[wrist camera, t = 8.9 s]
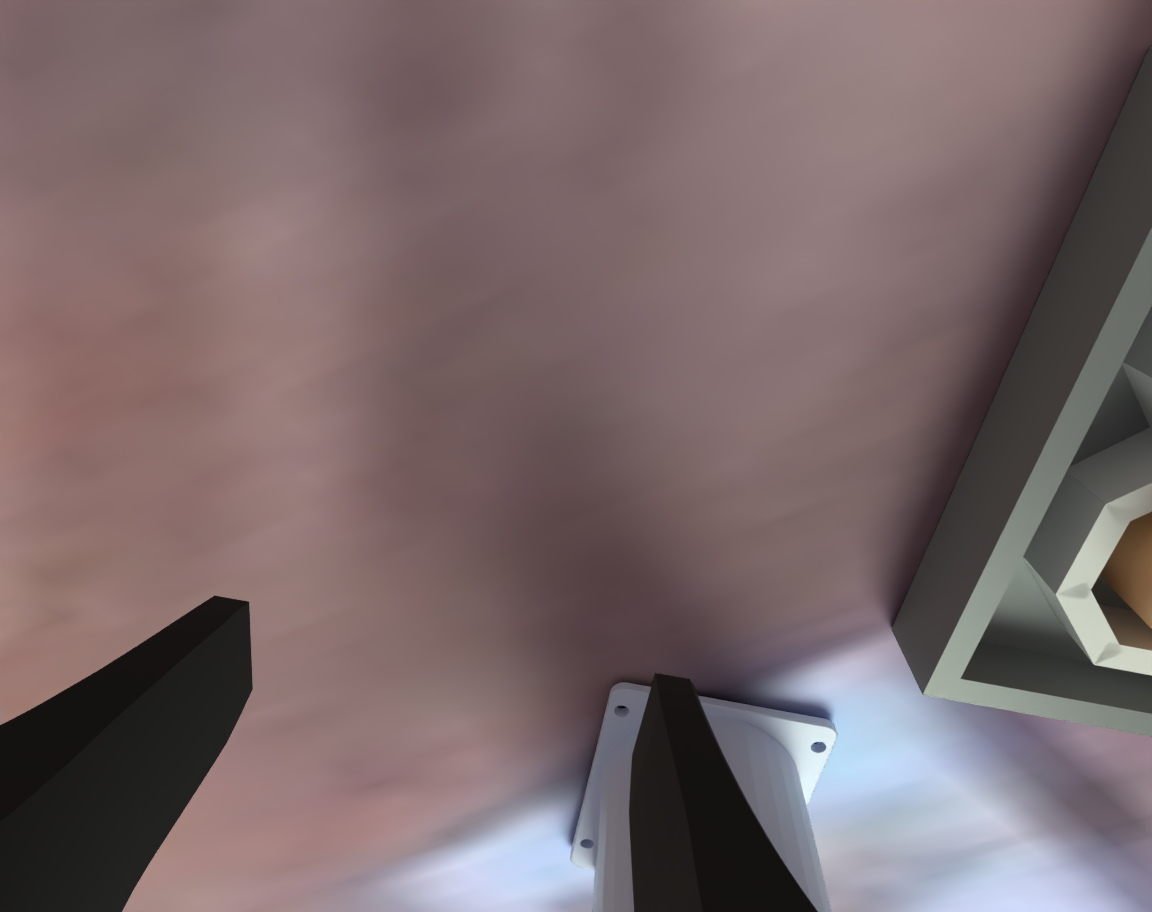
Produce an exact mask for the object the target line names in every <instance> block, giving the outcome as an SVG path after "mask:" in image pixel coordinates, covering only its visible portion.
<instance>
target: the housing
mask: <svg viewBox="0 0 1152 912" xmlns="http://www.w3.org/2000/svg"><path fill="white" fill-rule="evenodd" d="M1150 512H1152V46H1150V47H1149V49H1148V51H1147V54H1146V56H1145V58H1144V60H1143V63H1142V65H1141V67H1140V70H1139V72H1138V74H1137V76H1136V79H1135V81H1134V83H1133V85H1132V88H1131V90H1130V92H1129V94H1128V97H1127V99H1126V101H1125V103H1124V106H1123V108H1122V110H1121V112H1120V115H1119V117H1118V119H1117V121H1116V124H1115V126H1114V128H1113V130H1112V133H1111V135H1110V137H1109V139H1108V142H1107V144H1106V146H1105V148H1104V151H1103V153H1102V155H1101V157H1100V160H1099V162H1098V164H1097V166H1096V169H1095V171H1094V173H1093V176H1092V178H1091V180H1090V182H1089V185H1088V187H1087V189H1086V191H1085V194H1084V196H1083V198H1082V200H1081V203H1080V205H1079V207H1078V209H1077V212H1076V214H1075V216H1074V218H1073V221H1072V223H1071V225H1070V227H1069V230H1068V232H1067V234H1066V236H1065V239H1064V241H1063V243H1062V245H1061V248H1060V250H1059V252H1058V254H1057V257H1056V259H1055V261H1054V263H1053V266H1052V268H1051V270H1050V272H1049V275H1048V277H1047V279H1046V281H1045V284H1044V286H1043V288H1042V291H1041V293H1040V295H1039V297H1038V300H1037V302H1036V304H1035V306H1034V309H1033V311H1032V313H1031V315H1030V318H1029V320H1028V322H1027V324H1026V327H1025V329H1024V331H1023V333H1022V336H1021V338H1020V340H1019V342H1018V345H1017V347H1016V349H1015V351H1014V354H1013V356H1012V358H1011V360H1010V363H1009V365H1008V367H1007V369H1006V372H1005V374H1004V376H1003V378H1002V381H1001V383H1000V385H999V387H998V390H997V392H996V394H995V397H994V399H993V401H992V403H991V406H990V408H989V410H988V412H987V415H986V417H985V419H984V421H983V424H982V426H981V428H980V430H979V433H978V435H977V437H976V439H975V442H974V444H973V446H972V448H971V451H970V453H969V455H968V457H967V460H966V462H965V464H964V466H963V469H962V471H961V473H960V475H959V478H958V480H957V482H956V484H955V487H954V489H953V491H952V493H951V496H950V498H949V500H948V503H947V505H946V507H945V509H944V512H943V514H942V516H941V518H940V521H939V523H938V525H937V527H936V530H935V532H934V534H933V536H932V539H931V541H930V543H929V545H928V548H927V550H926V552H925V554H924V557H923V559H922V561H921V563H920V566H919V568H918V570H917V572H916V575H915V577H914V579H913V581H912V584H911V586H910V588H909V590H908V593H907V595H906V597H905V599H904V602H903V604H902V606H901V609H900V611H899V613H898V615H897V618H896V620H895V622H894V624H893V627H892V632H893V634H894V636H895V638H896V640H897V642H898V644H899V646H900V648H901V650H902V652H903V655H904V657H905V659H906V661H907V663H908V665H909V667H910V669H911V671H912V673H913V675H914V678H915V680H916V682H917V684H918V686H919V688H920V690H921V692H922V694H923V695H927V696H933V697H938V698H944V699H949V700H955V701H960V702H966V703H971V704H976V705H982V706H987V707H993V708H998V709H1004V710H1009V711H1015V712H1020V713H1026V714H1031V715H1036V716H1042V717H1047V718H1053V719H1058V720H1064V721H1069V722H1075V723H1080V724H1086V725H1091V726H1097V727H1102V728H1107V729H1113V730H1118V731H1124V732H1129V733H1135V734H1140V735H1146V736H1151V737H1152V629H1151V628H1150V627H1149V626H1148V625H1147V624H1146V623H1145V622H1144V621H1143V620H1142V619H1141V618H1140V617H1139V616H1138V614H1137V613H1136V612H1135V611H1134V610H1133V609H1132V608H1131V607H1130V606H1129V605H1128V604H1127V603H1126V602H1125V601H1124V600H1123V599H1122V598H1121V597H1120V596H1119V595H1118V594H1117V593H1116V592H1115V591H1114V590H1113V589H1112V588H1111V587H1110V586H1109V585H1108V584H1107V583H1106V582H1105V580H1104V579H1103V578H1102V577H1101V576H1100V573H1101V571H1102V569H1103V568H1104V566H1105V564H1106V562H1107V561H1108V559H1109V557H1110V556H1111V554H1112V552H1113V550H1114V549H1115V547H1116V545H1117V543H1118V542H1119V540H1120V538H1121V536H1122V535H1123V533H1124V531H1125V529H1126V528H1127V526H1128V524H1129V522H1130V521H1132V520H1134V519H1136V518H1139V517H1141V516H1143V515H1145V514H1147V513H1150Z"/></svg>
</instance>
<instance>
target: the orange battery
mask: <svg viewBox="0 0 1152 912" xmlns="http://www.w3.org/2000/svg"><path fill="white" fill-rule="evenodd" d="M1100 576H1101V577H1102V578H1103V579H1104V580H1105V582H1106V583H1107V584H1108V585H1109V586H1110V587H1111V588H1112V589H1113V590H1114V591H1115V592H1116V593H1117V594H1118V595H1119V596H1120V597H1121V598H1122V599H1123V600H1124V601H1125V602H1126V603H1127V604H1128V605H1129V606H1130V607H1131V608H1132V609H1133V610H1134V611H1135V612H1136V613H1137V614H1138V616H1139V617H1140V618H1141V619H1142V620H1143V621H1144V622H1145V623H1146V624H1147V625H1148V626H1149V627H1150V628H1151V629H1152V512H1150V513H1147V514H1145V515H1143V516H1141V517H1139V518H1136V519H1134V520H1132V521H1130V522H1129V524H1128V526H1127V528H1126V529H1125V531H1124V533H1123V535H1122V536H1121V538H1120V540H1119V542H1118V543H1117V545H1116V547H1115V549H1114V550H1113V552H1112V554H1111V556H1110V557H1109V559H1108V561H1107V562H1106V564H1105V566H1104V568H1103V569H1102V571H1101V573H1100Z"/></svg>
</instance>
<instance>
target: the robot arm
mask: <svg viewBox="0 0 1152 912" xmlns="http://www.w3.org/2000/svg"><path fill="white" fill-rule="evenodd" d="M252 689H253V688H252V663H251V638H250V614H249V602H247V601H242V600H236V599H230V598H225V597H219V596H213V597H212V598H210V599H209V600H207V601H206V602H204V603H202V604H201V605H199V606H198V607H196V608H195V609H193V610H192V611H190V612H188V613H187V614H185V615H184V616H182V617H181V618H179V619H178V620H176V621H175V622H173V623H172V624H170V625H169V626H167V627H166V628H164V629H163V630H161V631H160V632H158V633H156V634H155V635H153V636H152V637H150V638H149V639H147V640H146V641H144V642H143V643H141V644H140V645H138V646H136V647H135V648H133V649H132V650H130V651H129V652H127V653H125V654H124V655H122V656H121V657H119V658H117V659H116V660H114V661H113V662H111V663H110V664H108V665H106V666H105V667H103V668H102V669H100V670H98V671H97V672H95V673H93V674H92V675H90V676H88V677H86V678H85V679H83V680H81V681H80V682H78V683H76V684H74V685H73V686H71V687H69V688H68V689H66V690H64V691H62V692H61V693H59V694H57V695H56V696H54V697H52V698H50V699H49V700H47V701H45V702H43V703H42V704H40V705H38V706H36V707H34V708H33V709H31V710H29V711H27V712H25V713H23V714H21V715H19V716H17V717H16V718H14V719H12V720H10V721H8V722H6V723H4V724H2V725H0V912H122V910H123V908H124V907H125V905H126V903H127V901H128V899H129V897H130V895H131V893H132V891H133V890H134V888H135V886H136V885H137V883H138V881H139V880H140V878H141V876H142V875H143V873H144V871H145V870H146V868H147V866H148V864H149V863H150V861H151V860H152V858H153V857H154V855H155V854H156V852H157V850H158V849H159V847H160V846H161V844H162V843H163V841H164V840H165V838H166V837H167V835H168V834H169V832H170V830H171V829H172V827H173V826H174V824H175V823H176V821H177V820H178V818H179V817H180V815H181V813H182V812H183V810H184V809H185V807H186V806H187V804H188V803H189V801H190V800H191V798H192V796H193V795H194V793H195V792H196V790H197V789H198V787H199V786H200V784H201V783H202V781H203V779H204V778H205V776H206V775H207V773H208V772H209V770H210V768H211V767H212V765H213V764H214V762H215V761H216V759H217V757H218V756H219V754H220V753H221V751H222V749H223V748H224V746H225V745H226V743H227V741H228V739H229V737H230V735H231V733H232V731H233V729H234V727H235V725H236V723H237V721H238V719H239V717H240V715H241V713H242V711H243V708H244V706H245V704H246V702H247V700H248V698H249V696H250V693H251V691H252ZM617 706H625V707H626V708H624V709H620V708H618V707H617ZM837 735H838V734H837V731H836V728H835V725H834V723H832V722H831V721H830V720H827V719H823V718H818V717H812V716H807V715H801V714H796V713H790V712H785V711H780V710H774V709H769V708H763V707H758V706H752V705H747V704H741V703H736V702H730V701H725V700H719V699H714V698H708V697H703V696H698V695H697V693H696V690H695V687H694V685H693V684H692V682H691V681H690V679H686V678H680V677H674V676H669V675H663V674H657V673H655V675H654V679H653V682H652V686H651V687H648V686H643V685H637V684H632V683H623V682H621V683H618V684H616V685H614V686H613V687H612V689H611V691H610V694H609V698H608V703H607V707H606V711H605V715H604V719H603V723H602V727H601V731H600V735H599V739H598V743H597V747H596V751H595V755H594V759H593V763H592V767H591V771H590V775H589V779H588V783H587V788H586V792H585V796H584V800H583V804H582V808H581V812H580V816H579V820H578V824H577V828H576V832H575V836H574V840H573V844H572V848H571V856H570V859H571V862H572V863H573V864H574V865H575V866H577V867H580V868H584V869H590V870H595V876H594V893H593V910H592V912H832V910H831V906H830V902H829V898H828V894H827V890H826V885H825V881H824V877H823V873H822V869H821V864H820V860H819V856H818V852H817V848H816V843H815V839H814V835H813V831H812V827H811V822H810V818H809V814H808V810H807V805H808V803H809V801H810V799H811V796H812V794H813V792H814V789H815V787H816V785H817V783H818V780H819V778H820V776H821V774H822V771H823V769H824V767H825V764H826V762H827V760H828V758H829V755H830V753H831V751H832V748H833V746H834V744H835V742H836V739H837ZM815 742H821V743H819V744H813V743H815Z"/></svg>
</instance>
